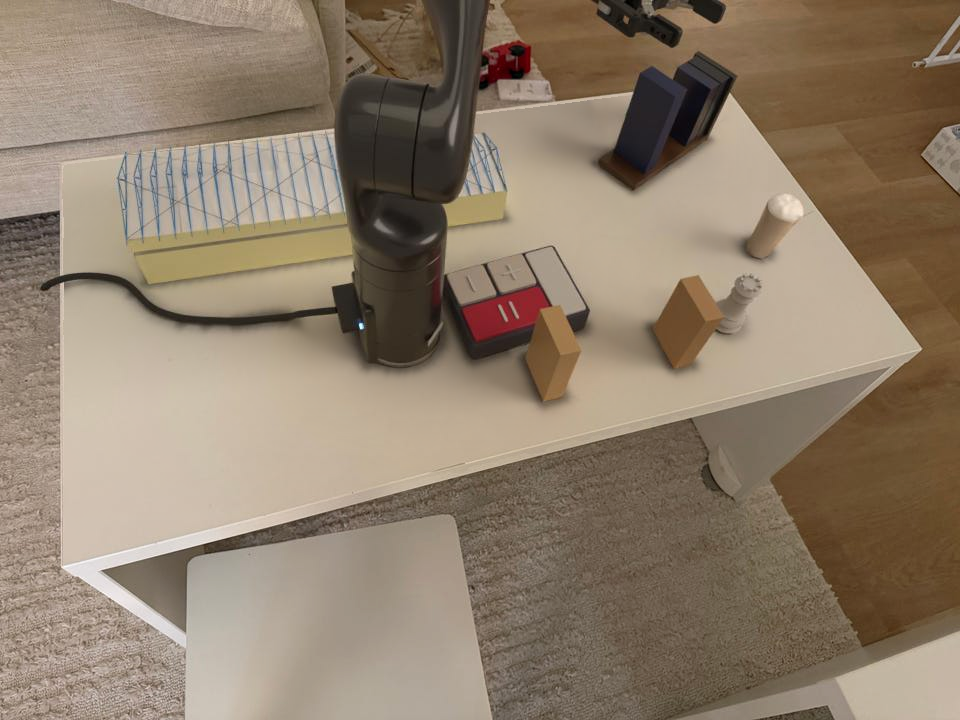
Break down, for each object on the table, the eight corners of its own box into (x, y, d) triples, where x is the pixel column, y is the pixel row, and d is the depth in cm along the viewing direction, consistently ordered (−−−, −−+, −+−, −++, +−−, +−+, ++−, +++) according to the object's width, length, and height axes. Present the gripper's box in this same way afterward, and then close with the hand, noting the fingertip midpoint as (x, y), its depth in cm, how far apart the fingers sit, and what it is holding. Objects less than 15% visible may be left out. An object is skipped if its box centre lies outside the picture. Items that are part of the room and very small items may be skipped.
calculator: (440, 270, 79) (554, 239, 83) (440, 292, 83) (549, 261, 86) (473, 344, 74) (592, 308, 78) (471, 363, 78) (586, 328, 81)
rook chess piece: (745, 317, 85) (775, 277, 78) (734, 341, 83) (763, 303, 76) (713, 301, 86) (739, 261, 79) (701, 324, 84) (727, 285, 77)
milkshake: (765, 271, 89) (802, 219, 81) (734, 246, 91) (768, 193, 83) (784, 256, 91) (823, 204, 83) (754, 232, 93) (789, 178, 85)
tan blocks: (543, 402, 76) (560, 355, 67) (525, 358, 78) (539, 308, 70) (691, 364, 80) (724, 316, 72) (669, 325, 83) (698, 274, 75)
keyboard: (148, 287, 79) (116, 227, 70) (146, 197, 86) (116, 133, 77) (509, 235, 88) (520, 176, 80) (479, 158, 96) (486, 97, 87)
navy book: (644, 174, 96) (675, 96, 85) (613, 151, 97) (639, 72, 86) (655, 166, 97) (687, 89, 86) (624, 144, 99) (652, 65, 88)
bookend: (633, 191, 95) (658, 127, 86) (597, 164, 98) (617, 98, 88) (707, 139, 103) (737, 75, 93) (672, 115, 105) (698, 50, 96)
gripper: (565, -52, 76) (675, 16, 71) (642, -84, 82) (749, -24, 77) (553, 11, 83) (653, 78, 77) (625, -23, 89) (723, 37, 83)
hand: (700, 27), depth 77 cm, fingers open, 8 cm apart
